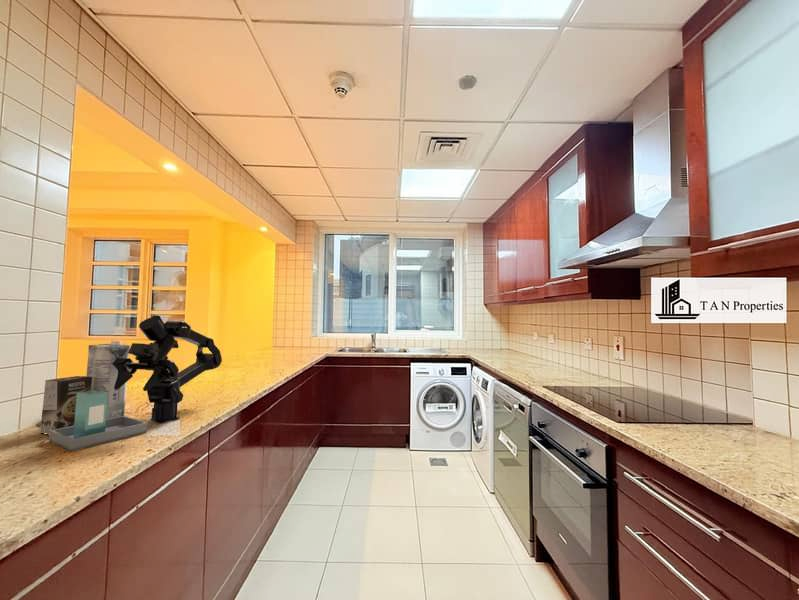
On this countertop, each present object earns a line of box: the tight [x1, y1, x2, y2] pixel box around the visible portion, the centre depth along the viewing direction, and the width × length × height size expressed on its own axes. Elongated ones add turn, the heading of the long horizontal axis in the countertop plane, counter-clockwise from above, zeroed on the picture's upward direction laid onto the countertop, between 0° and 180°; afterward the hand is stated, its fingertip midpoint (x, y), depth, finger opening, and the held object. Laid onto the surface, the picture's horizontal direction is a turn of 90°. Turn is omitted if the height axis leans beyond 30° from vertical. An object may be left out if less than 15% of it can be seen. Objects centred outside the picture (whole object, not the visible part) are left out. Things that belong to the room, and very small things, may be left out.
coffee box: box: [39, 375, 92, 434], centre depth 107 cm, size 9×6×16 cm
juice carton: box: [86, 340, 131, 419], centre depth 118 cm, size 9×10×27 cm
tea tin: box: [73, 390, 108, 439], centre depth 99 cm, size 5×5×13 cm
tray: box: [48, 415, 148, 453], centre depth 102 cm, size 18×14×3 cm
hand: (129, 389), depth 105 cm, fingers open, 9 cm apart
